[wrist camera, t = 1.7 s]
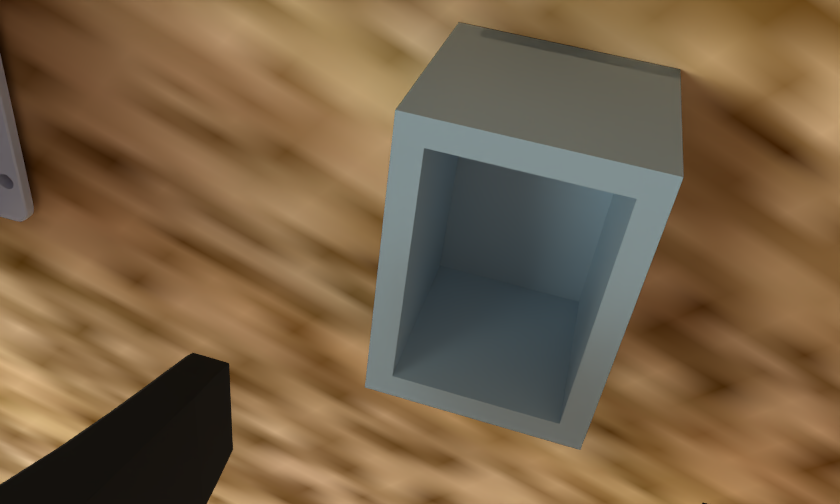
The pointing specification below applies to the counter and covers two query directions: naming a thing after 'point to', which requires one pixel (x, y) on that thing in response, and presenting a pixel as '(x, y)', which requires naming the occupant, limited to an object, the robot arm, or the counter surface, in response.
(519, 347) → the small crate
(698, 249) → the counter surface
